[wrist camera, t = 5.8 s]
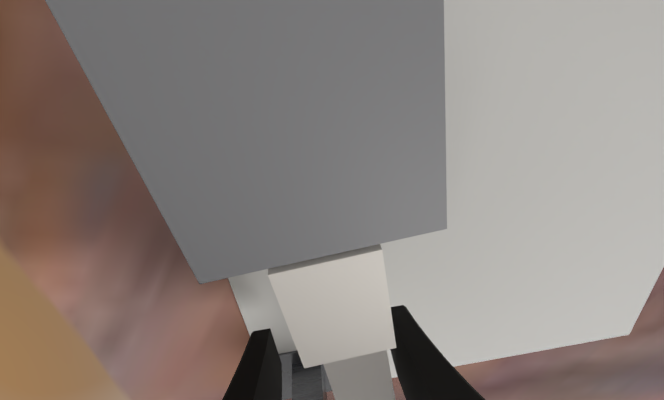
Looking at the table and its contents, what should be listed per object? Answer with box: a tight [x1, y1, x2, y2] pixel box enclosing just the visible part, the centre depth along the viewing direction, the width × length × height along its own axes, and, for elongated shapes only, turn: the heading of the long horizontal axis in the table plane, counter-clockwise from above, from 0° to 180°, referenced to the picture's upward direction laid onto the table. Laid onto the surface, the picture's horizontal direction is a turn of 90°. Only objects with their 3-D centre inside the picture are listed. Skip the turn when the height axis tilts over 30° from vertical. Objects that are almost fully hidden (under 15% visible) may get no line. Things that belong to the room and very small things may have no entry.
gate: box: [45, 0, 447, 400], centre depth 9 cm, size 17×3×6 cm, turn 11°
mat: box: [228, 0, 664, 378], centre depth 13 cm, size 20×18×1 cm
